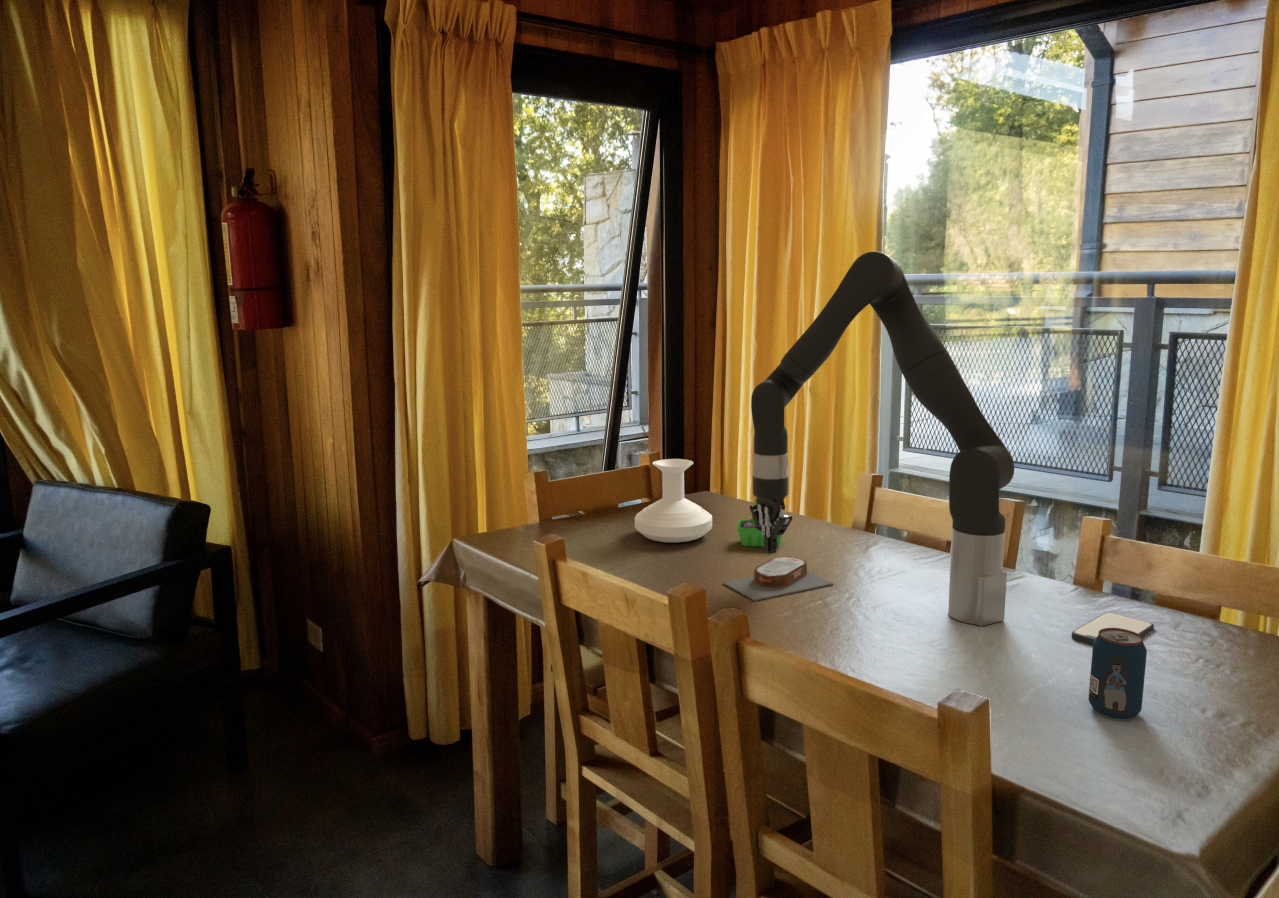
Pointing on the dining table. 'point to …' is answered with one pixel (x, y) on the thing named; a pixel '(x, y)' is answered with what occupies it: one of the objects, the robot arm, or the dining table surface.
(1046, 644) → the dining table surface
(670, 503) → the white vase
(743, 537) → the fruit basket
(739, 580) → the mat
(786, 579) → the tin
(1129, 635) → the soda can
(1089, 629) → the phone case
